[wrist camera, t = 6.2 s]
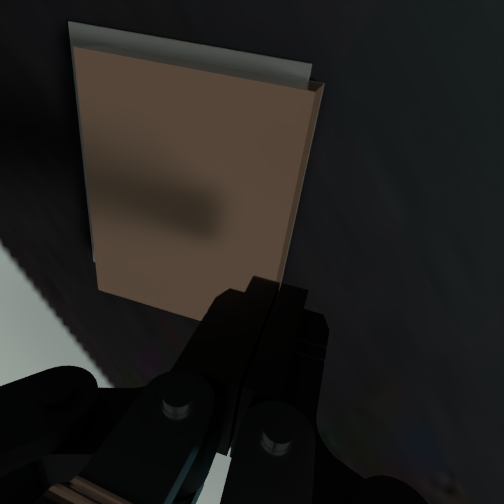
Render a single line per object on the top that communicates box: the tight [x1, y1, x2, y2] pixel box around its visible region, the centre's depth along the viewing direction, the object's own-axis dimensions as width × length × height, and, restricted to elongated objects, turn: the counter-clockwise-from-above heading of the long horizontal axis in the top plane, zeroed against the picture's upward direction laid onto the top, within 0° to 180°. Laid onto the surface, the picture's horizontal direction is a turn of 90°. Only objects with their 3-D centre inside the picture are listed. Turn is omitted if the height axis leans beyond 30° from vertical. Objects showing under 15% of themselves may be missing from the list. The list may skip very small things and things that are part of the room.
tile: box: [73, 45, 325, 321], centre depth 15 cm, size 10×2×8 cm
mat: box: [68, 21, 312, 262], centre depth 17 cm, size 11×9×1 cm
